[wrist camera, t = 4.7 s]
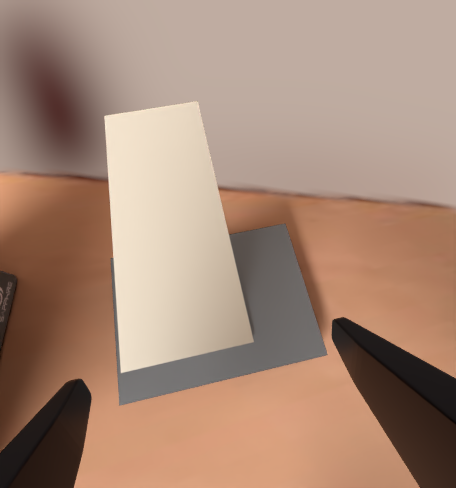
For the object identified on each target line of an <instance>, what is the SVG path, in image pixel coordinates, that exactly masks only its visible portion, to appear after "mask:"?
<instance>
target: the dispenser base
mask: <svg viewBox="0 0 456 488" xmlns="http://www.w3.org/2000/svg"><path fill="white" fill-rule="evenodd" d="M229 237H230V242H231V246H232V250H233V255H234V259H235V263H236V267H237V272H238V276H239V280H240V284H241V289H242V293H243V297H244V302H245V306H246V310H247V314H248V319H249V323H250V327H251V331H252V336H253V340H254V342H252V343H248V344H244V345H239V346H235V347H231V348H226V349H222V350H218V351H214V352H209V353H205V354H201V355H197V356H192V357H188V358H184V359H179V360H175V361H171V362H167V363H162V364H158V365H154V366H149V367H145V368H141V369H137V370H132V371H128V372H124V373H121V368H120V352H119V336H118V321H117V305H116V289H115V274H114V258H111V272H112V289H113V306H114V323H115V339H116V356H117V373H118V390H119V406H120V405H124V404H128V403H132V402H136V401H140V400H144V399H148V398H152V397H157V396H161V395H165V394H169V393H173V392H177V391H181V390H185V389H190V388H194V387H198V386H202V385H206V384H210V383H214V382H218V381H222V380H227V379H231V378H235V377H239V376H243V375H247V374H251V373H255V372H260V371H264V370H268V369H272V368H276V367H280V366H284V365H288V364H292V363H297V362H301V361H305V360H309V359H313V358H317V357H321V356H325V355H328V354H327V351H326V348H325V345H324V342H323V339H322V336H321V333H320V330H319V326H318V323H317V320H316V317H315V314H314V311H313V308H312V305H311V302H310V299H309V295H308V292H307V289H306V286H305V283H304V280H303V277H302V274H301V271H300V267H299V264H298V261H297V258H296V255H295V252H294V249H293V246H292V243H291V239H290V236H289V233H288V230H287V227H286V224H280V225H275V226H270V227H265V228H260V229H255V230H250V231H245V232H240V233H235V234H230V235H229Z"/></svg>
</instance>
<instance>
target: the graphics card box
mask: <svg viewBox="0 0 456 488" xmlns="http://www.w3.org/2000/svg"><path fill="white" fill-rule="evenodd" d="M16 284H17V278H16V276H15V275H13V274H9V273H6V272H4V271H0V350H1V346H2V341H3V338H4V334H5V329H6V325H7V321H8V316H9V313H10V308H11V305H12V301H13V296H14V292H15V288H16Z"/></svg>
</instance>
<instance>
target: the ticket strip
mask: <svg viewBox="0 0 456 488" xmlns="http://www.w3.org/2000/svg"><path fill="white" fill-rule="evenodd" d="M104 117H105V131H106V146H107V147H106V148H107V164H108V180H109V195H110V211H111V227H112V242H113V258H114V274H115V289H116V305H117V321H118V336H119V352H120V368H121V373H124V372H128V371H132V370H137V369H141V368H145V367H149V366H154V365H158V364H162V363H167V362H171V361H175V360H179V359H184V358H188V357H192V356H197V355H201V354H205V353H209V352H214V351H218V350H222V349H226V348H231V347H235V346H239V345H244V344H248V343H252V342H254V340H253V336H252V331H251V327H250V323H249V319H248V314H247V310H246V306H245V302H244V297H243V293H242V289H241V284H240V280H239V276H238V272H237V267H236V263H235V259H234V255H233V250H232V246H231V242H230V237H229V233H228V229H227V225H226V220H225V216H224V212H223V208H222V203H221V199H220V195H219V190H218V186H217V182H216V178H215V174H214V169H213V165H212V161H211V156H210V152H209V148H208V143H207V140H206V135H205V131H204V126H203V123H202V118H201V114H200V109H199V105H198V101H195V102H189V103H182V104H177V105H170V106H163V107H157V108H151V109H145V110H138V111H132V112H126V113H120V114H113V115H107V116H104Z"/></svg>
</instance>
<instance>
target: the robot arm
mask: <svg viewBox="0 0 456 488" xmlns="http://www.w3.org/2000/svg"><path fill="white" fill-rule="evenodd" d="M332 340H333V342H334V344H335V346H336V348H337V350H338V352H339V354H340V356H341V358H342V360H343V362H344V364H345V366H346V368H347V370H348V372H349V374H350V376H351V378H352V380H353V382H354V384H355V385H356V387H357V389H358V390H359V392H360V393H361V395H362V396H363V398H364V400H365V401H366V403H367V404H368V406H369V408H370V409H371V411H372V412H373V414H374V415H375V417H376V419H377V420H378V422H379V423H380V425H381V427H382V428H383V430H384V431H385V433H386V434H387V436H388V438H389V439H390V441H391V442H392V444H393V446H394V447H395V449H396V450H397V452H398V453H399V455H400V457H401V458H402V460H403V461H404V463H405V465H406V466H407V468H408V469H409V471H410V472H411V474H412V476H413V477H414V479H415V480H416V482H417V483H418V485H419V487H420V488H456V378H454V377H452V376H450V375H449V374H447V373H445V372H443V371H441V370H439V369H438V368H436V367H434V366H432V365H430V364H429V363H427V362H425V361H423V360H421V359H419V358H418V357H416V356H414V355H412V354H410V353H409V352H407V351H405V350H403V349H401V348H400V347H398V346H396V345H394V344H392V343H390V342H389V341H387V340H385V339H383V338H381V337H380V336H378V335H376V334H374V333H372V332H370V331H369V330H367V329H365V328H363V327H361V326H360V325H358V324H356V323H354V322H352V321H351V320H349V319H347V318H344V317H341V318H337V319H334V320H333V321H332ZM90 406H91V393H90V391H89V389H88V388H87V386H86V385H85V383H84V381H83V380H82V379H75V380H71V381H68V382H67V383H65V384H64V386H63V387H62V388H61V389H60V390H59V391H58V392H57V393H56V394H55V395H54V396H53V397H52V398H51V399H50V400H49V402H48V403H47V404H46V405H45V406H44V407H43V408H42V409H41V410H40V411H39V412H38V413H37V414H36V415H35V416H34V418H33V419H32V420H31V421H30V422H29V423H28V424H27V425H26V426H25V427H24V428H23V429H22V430H21V431H20V433H19V434H18V435H17V436H16V437H15V438H14V439H13V440H12V441H11V442H10V443H9V444H8V445H7V446H6V447H5V449H4V450H3V451H2V452H1V453H0V488H74V484H75V480H76V476H77V473H78V469H79V465H80V461H81V457H82V453H83V448H84V443H85V436H86V430H87V424H88V418H89V412H90Z"/></svg>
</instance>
